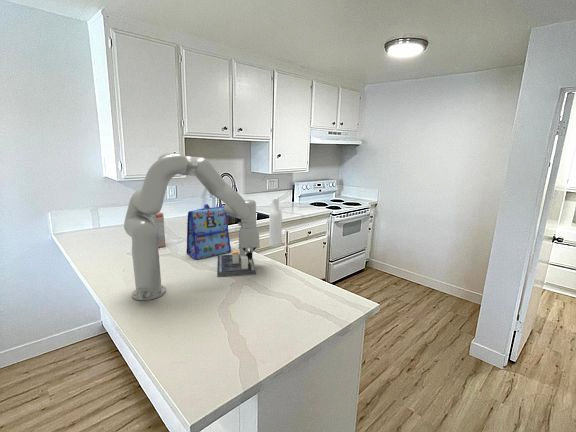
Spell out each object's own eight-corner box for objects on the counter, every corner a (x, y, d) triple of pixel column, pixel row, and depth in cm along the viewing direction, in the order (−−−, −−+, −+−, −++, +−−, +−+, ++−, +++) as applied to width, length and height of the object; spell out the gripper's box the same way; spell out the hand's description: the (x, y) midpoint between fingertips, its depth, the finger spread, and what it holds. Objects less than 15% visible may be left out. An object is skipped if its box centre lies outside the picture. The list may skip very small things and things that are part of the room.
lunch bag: (195, 260, 162) (192, 207, 156) (186, 254, 172) (182, 204, 166) (231, 252, 175) (230, 203, 169) (220, 246, 185) (219, 200, 179)
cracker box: (166, 246, 185) (163, 212, 180) (156, 248, 181) (153, 214, 176) (158, 241, 195) (156, 209, 191) (148, 243, 191) (145, 210, 187)
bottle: (267, 244, 192) (267, 197, 186) (279, 242, 195) (279, 196, 188) (271, 247, 184) (271, 199, 178) (283, 246, 187) (284, 198, 181)
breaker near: (248, 268, 146) (247, 258, 145) (241, 269, 145) (241, 259, 144) (247, 265, 149) (247, 256, 148) (241, 266, 149) (241, 256, 148)
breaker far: (245, 257, 161) (245, 248, 160) (239, 257, 160) (239, 248, 159) (245, 254, 165) (244, 246, 164) (239, 255, 164) (239, 246, 163)
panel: (255, 274, 145) (255, 269, 144) (217, 276, 141) (217, 272, 141) (251, 257, 168) (251, 253, 167) (217, 259, 164) (217, 255, 164)
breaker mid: (238, 263, 152) (238, 252, 151) (232, 263, 152) (232, 253, 151) (238, 260, 156) (238, 250, 155) (232, 260, 156) (232, 250, 154)
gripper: (233, 227, 146) (234, 263, 150) (264, 225, 149) (264, 261, 153) (233, 223, 153) (234, 257, 157) (262, 222, 157) (262, 256, 160)
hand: (249, 259), depth 155 cm, fingers closed
